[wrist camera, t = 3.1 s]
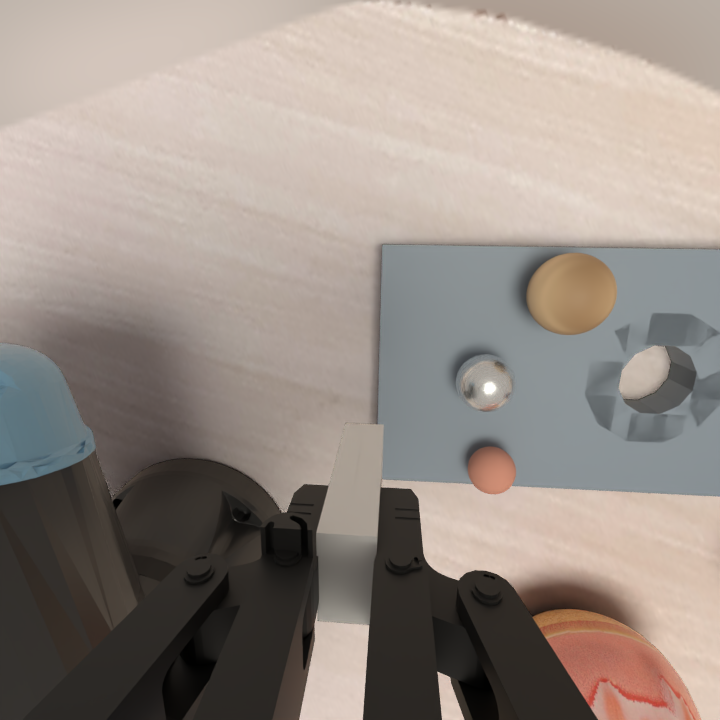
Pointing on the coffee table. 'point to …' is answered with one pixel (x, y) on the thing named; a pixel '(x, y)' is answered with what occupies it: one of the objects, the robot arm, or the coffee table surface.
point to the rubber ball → (491, 470)
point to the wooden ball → (571, 293)
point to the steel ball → (485, 383)
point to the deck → (551, 370)
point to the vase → (616, 667)
